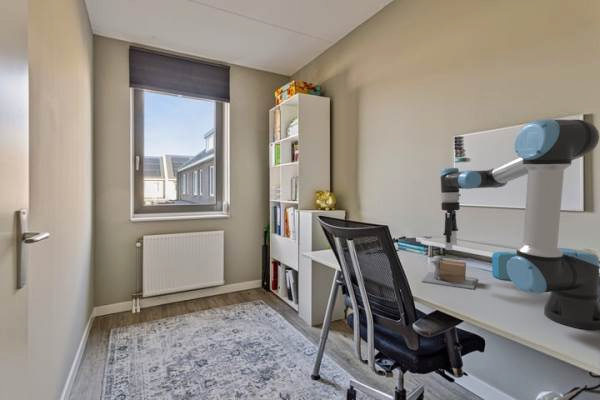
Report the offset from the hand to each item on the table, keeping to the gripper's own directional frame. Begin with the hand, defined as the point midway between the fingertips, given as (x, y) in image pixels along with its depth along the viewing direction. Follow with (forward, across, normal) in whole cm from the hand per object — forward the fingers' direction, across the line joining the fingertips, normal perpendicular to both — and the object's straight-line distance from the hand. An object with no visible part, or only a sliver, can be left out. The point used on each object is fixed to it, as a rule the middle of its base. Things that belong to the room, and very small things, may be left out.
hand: (451, 247), depth 140 cm
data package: (+16, +17, -21) cm, 32 cm away
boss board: (+16, 0, +1) cm, 16 cm away
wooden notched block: (+15, +1, 0) cm, 15 cm away
